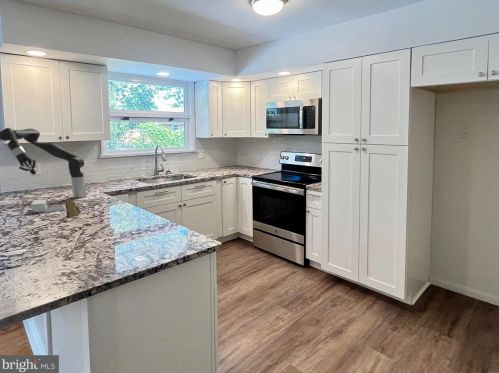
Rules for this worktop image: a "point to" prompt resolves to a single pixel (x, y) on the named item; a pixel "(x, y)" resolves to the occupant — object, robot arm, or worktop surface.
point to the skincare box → (39, 206)
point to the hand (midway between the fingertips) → (34, 174)
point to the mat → (52, 209)
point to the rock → (71, 208)
